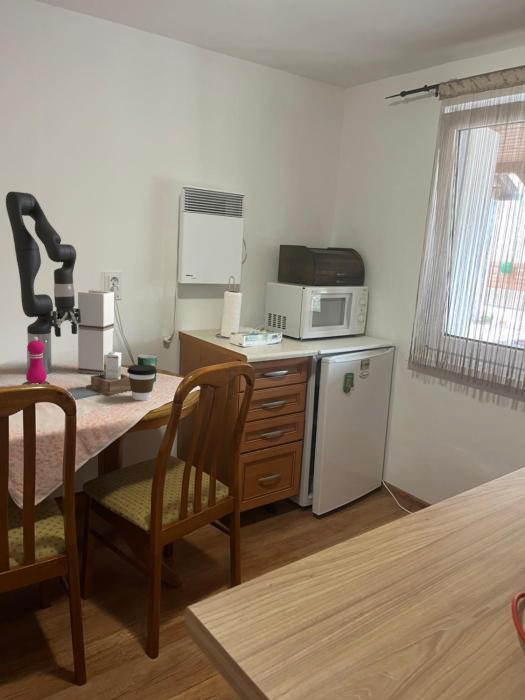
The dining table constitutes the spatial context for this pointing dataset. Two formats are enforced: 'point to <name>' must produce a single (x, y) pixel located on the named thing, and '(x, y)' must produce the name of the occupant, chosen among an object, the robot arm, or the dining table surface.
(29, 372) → the pepper mill
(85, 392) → the mat
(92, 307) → the banded white pillar
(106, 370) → the syrup box
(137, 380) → the coffee cup
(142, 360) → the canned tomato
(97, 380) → the wooden tray
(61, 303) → the robot arm
